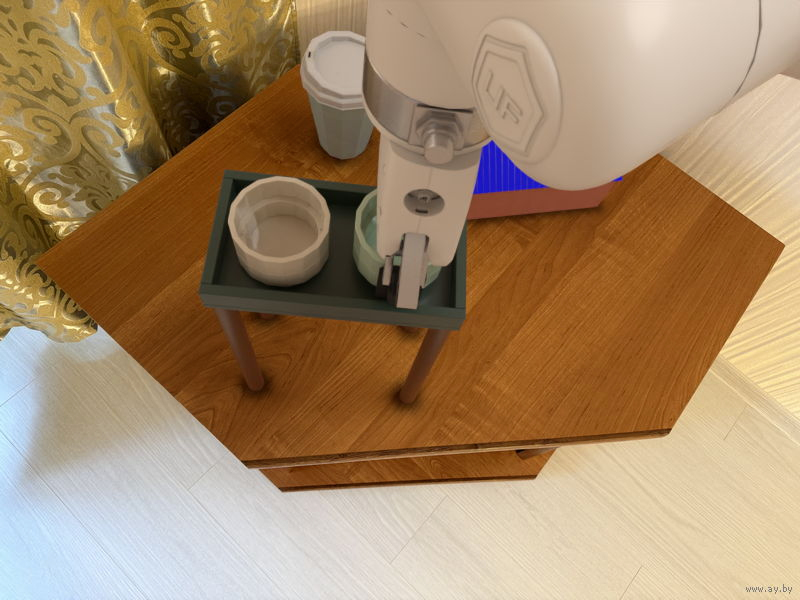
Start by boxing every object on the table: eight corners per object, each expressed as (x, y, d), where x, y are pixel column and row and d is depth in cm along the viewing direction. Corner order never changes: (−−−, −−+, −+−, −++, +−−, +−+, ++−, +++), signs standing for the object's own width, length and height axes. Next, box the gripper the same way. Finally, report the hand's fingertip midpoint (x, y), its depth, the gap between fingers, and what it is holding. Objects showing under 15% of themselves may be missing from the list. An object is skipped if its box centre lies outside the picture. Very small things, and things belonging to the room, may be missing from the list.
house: (441, 148, 82) (458, 87, 72) (575, 137, 86) (610, 78, 75) (459, 222, 78) (480, 169, 67) (600, 208, 81) (641, 155, 71)
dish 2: (442, 300, 45) (453, 273, 40) (349, 291, 44) (351, 263, 40) (444, 220, 47) (455, 188, 43) (357, 210, 47) (359, 177, 43)
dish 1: (324, 293, 45) (324, 267, 41) (230, 284, 44) (220, 256, 40) (333, 214, 48) (334, 182, 44) (245, 205, 47) (237, 171, 43)
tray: (415, 405, 67) (465, 319, 43) (245, 391, 66) (197, 293, 42) (419, 319, 72) (467, 196, 47) (259, 303, 70) (224, 168, 46)
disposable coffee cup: (384, 116, 83) (395, 29, 70) (380, 179, 79) (391, 100, 65) (308, 107, 82) (304, 18, 69) (299, 171, 78) (294, 89, 64)
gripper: (519, 239, 26) (445, 363, 42) (511, -35, 33) (450, 162, 49) (346, 220, 25) (339, 354, 41) (376, -54, 32) (360, 151, 48)
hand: (400, 249), depth 45 cm, fingers closed on dish 2, 7 cm apart
